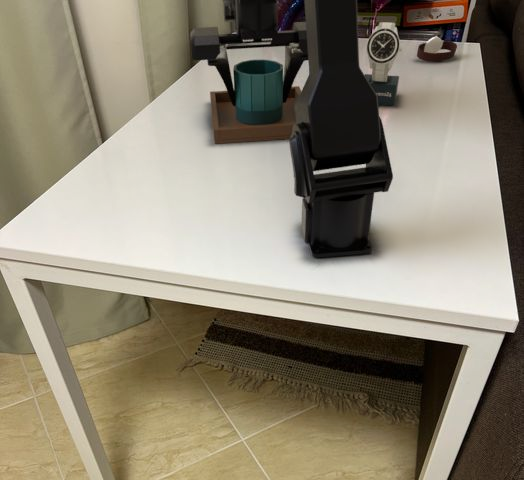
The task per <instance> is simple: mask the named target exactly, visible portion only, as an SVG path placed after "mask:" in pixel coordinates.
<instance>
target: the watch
mask: <svg viewBox="0 0 524 480" xmlns="http://www.w3.org/2000/svg"><path fill="white" fill-rule="evenodd" d="M403 46H404V45H402V44H401V40H400V37H399V33H398V28H397V26H396V22H384V21H380V22H379V24H378V25H377V26H375V27H374V30H373V31H372V33H371V35H370V36H369V37H368V40H367V42H366V54H367V58H368V63H369V69H371V73H369V74H368V73H365V74H364V75H365V77H366V78H367V80H368V82H369V83H370V85H371V86H372V88H373V90H374V91H375V93H376V95H377V98H378V106H379V105H380V106H392V107H394V106H395V104H396V100H397V99H396V98H397V96H398V95H397V94H398V87H399V79H400V76H399V75H389V71H390V70H391V69H392V67H393V65H394V62H395V60H396V59H397V56H398V54H399V53H400V52H403V48H404V47H403Z"/></svg>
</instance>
